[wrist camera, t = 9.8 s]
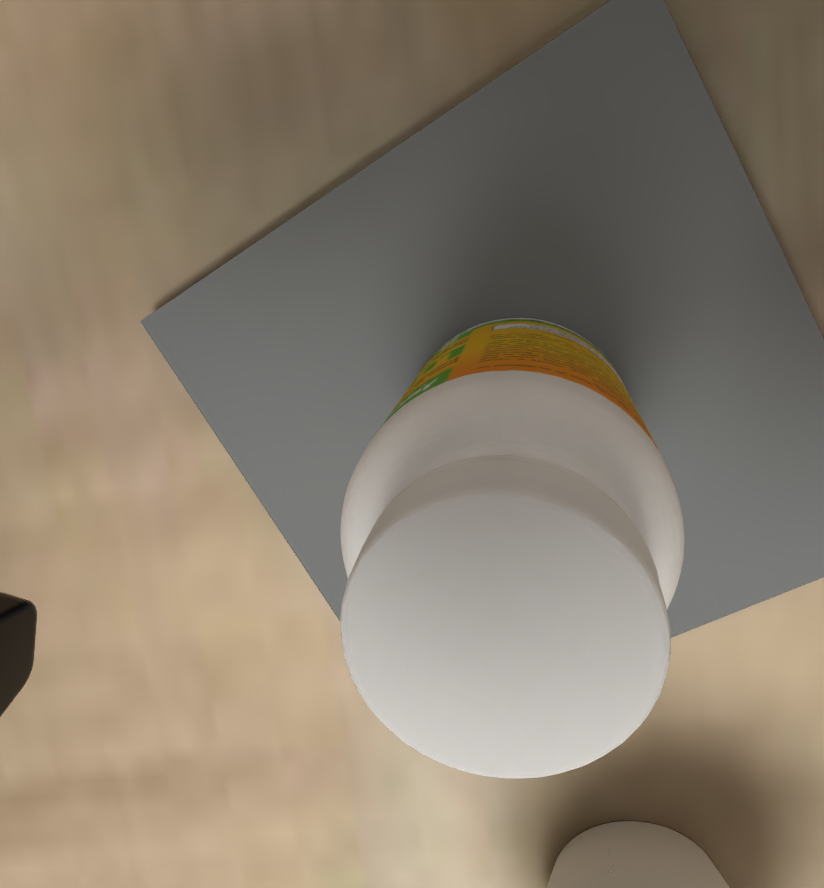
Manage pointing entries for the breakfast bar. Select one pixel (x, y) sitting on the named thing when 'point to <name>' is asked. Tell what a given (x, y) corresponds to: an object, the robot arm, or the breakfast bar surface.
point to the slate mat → (536, 304)
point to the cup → (633, 859)
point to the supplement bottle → (511, 556)
